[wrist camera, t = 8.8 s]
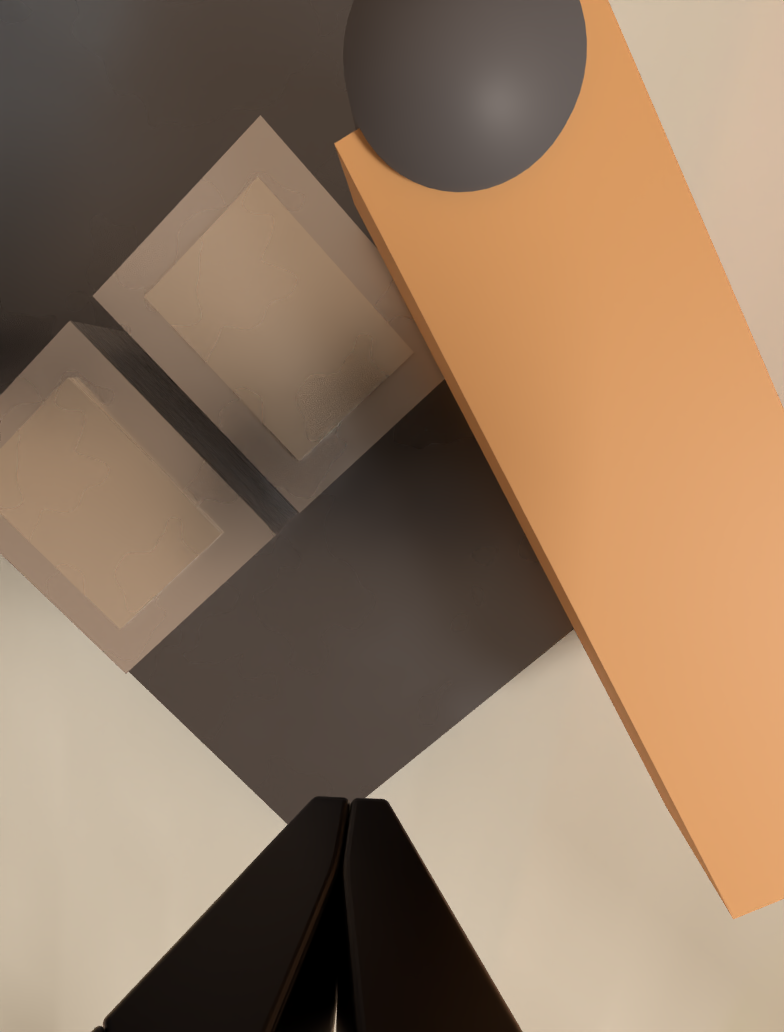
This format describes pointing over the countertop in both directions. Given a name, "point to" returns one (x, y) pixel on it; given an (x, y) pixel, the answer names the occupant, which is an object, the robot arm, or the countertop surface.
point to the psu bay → (384, 529)
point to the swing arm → (595, 377)
